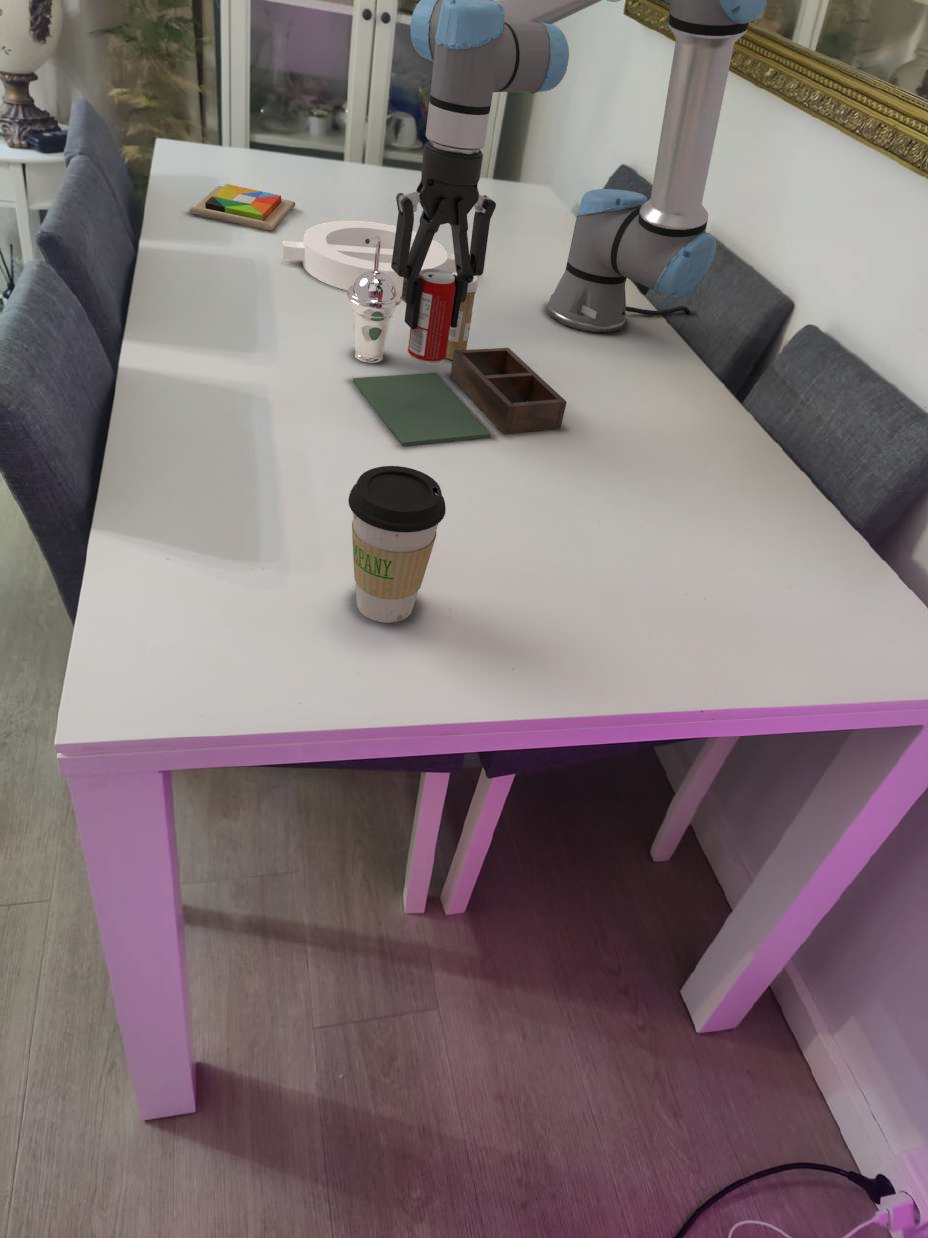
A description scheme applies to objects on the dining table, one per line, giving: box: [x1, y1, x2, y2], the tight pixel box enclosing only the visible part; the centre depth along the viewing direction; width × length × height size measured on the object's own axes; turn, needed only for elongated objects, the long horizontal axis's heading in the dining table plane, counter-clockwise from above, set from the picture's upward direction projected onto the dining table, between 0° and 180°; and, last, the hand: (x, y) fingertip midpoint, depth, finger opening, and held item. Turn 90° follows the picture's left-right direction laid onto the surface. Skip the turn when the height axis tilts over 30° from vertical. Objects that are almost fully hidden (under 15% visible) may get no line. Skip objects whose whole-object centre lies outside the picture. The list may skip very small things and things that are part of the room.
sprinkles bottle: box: [444, 272, 479, 361], centre depth 149 cm, size 5×5×14 cm
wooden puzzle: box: [188, 183, 296, 231], centre depth 192 cm, size 18×19×4 cm
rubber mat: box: [352, 372, 492, 447], centre depth 136 cm, size 14×20×1 cm
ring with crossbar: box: [281, 220, 456, 298], centre depth 177 cm, size 28×28×5 cm
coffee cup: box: [347, 465, 447, 624], centre depth 94 cm, size 10×10×15 cm
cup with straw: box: [346, 236, 402, 364], centre depth 141 cm, size 8×9×20 cm
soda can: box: [407, 269, 456, 364], centre depth 127 cm, size 6×6×12 cm
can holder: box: [449, 347, 568, 435], centre depth 141 cm, size 10×19×4 cm, turn 25°
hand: (430, 323), depth 128 cm, fingers closed on soda can, 5 cm apart
